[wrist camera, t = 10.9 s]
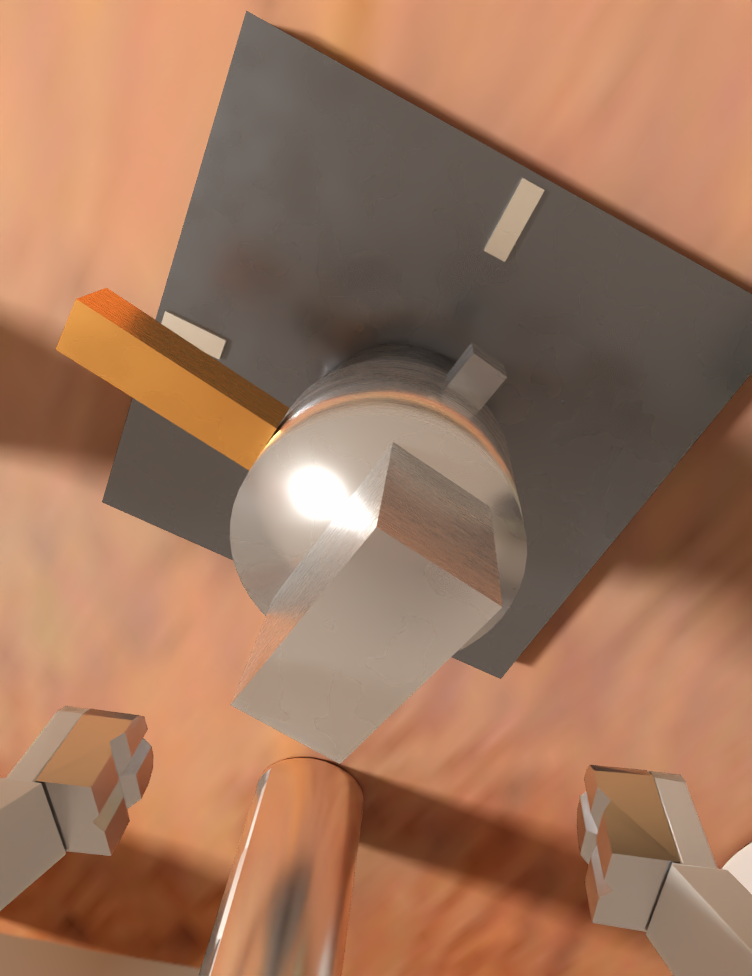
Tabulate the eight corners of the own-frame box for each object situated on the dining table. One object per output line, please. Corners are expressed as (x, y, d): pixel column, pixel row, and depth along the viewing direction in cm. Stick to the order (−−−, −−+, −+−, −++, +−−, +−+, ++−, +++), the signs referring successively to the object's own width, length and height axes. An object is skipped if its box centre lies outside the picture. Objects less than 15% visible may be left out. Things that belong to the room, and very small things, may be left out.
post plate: (775, 309, 22) (857, 346, 18) (498, 656, 31) (506, 738, 26) (259, 21, 20) (205, -20, 15) (118, 486, 28) (57, 545, 24)
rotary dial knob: (589, 426, 19) (683, 600, 12) (398, 628, 24) (374, 850, 16) (194, 139, 17) (-22, 119, 9) (64, 428, 21) (-153, 578, 14)
